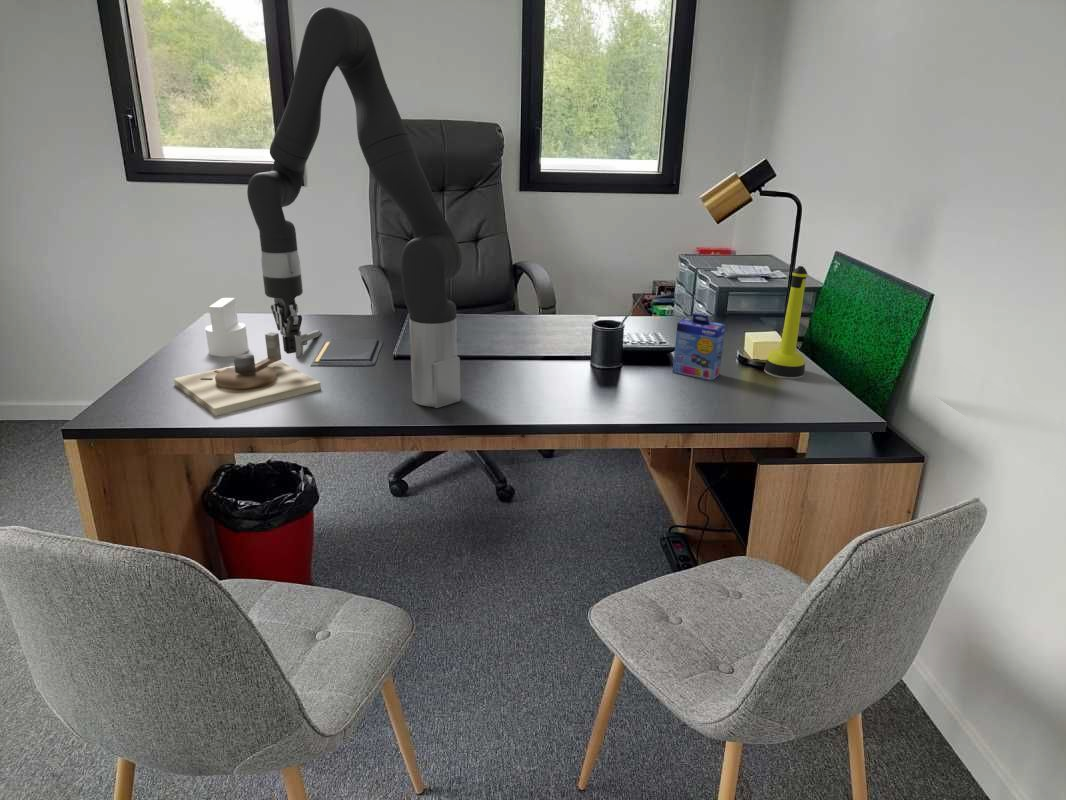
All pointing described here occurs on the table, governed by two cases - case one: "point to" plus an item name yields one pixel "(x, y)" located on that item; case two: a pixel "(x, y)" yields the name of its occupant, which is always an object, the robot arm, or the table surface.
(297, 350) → the caliper
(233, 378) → the dial
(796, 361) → the flashlight
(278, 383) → the dial board
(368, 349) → the dark grey flat block
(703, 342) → the ink cartridge box
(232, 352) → the cylinder with rectangular tab
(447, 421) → the table surface
